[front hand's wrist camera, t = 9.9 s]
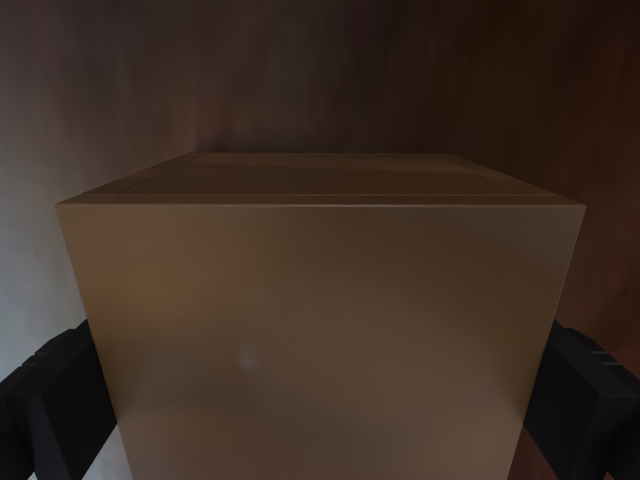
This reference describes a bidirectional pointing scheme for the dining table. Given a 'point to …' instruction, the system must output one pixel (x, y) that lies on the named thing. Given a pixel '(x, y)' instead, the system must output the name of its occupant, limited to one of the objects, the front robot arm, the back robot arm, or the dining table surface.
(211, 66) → the dining table surface
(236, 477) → the cabinet
